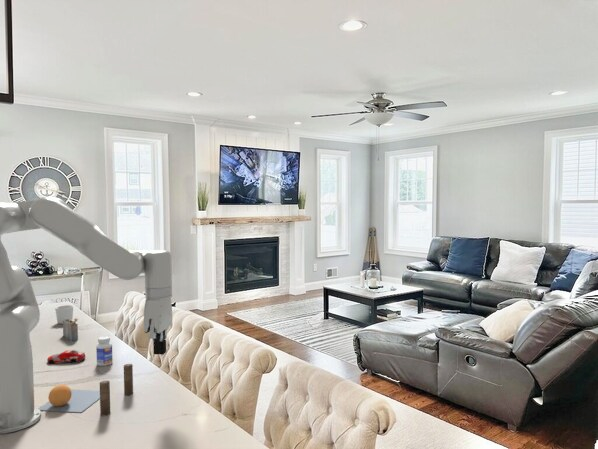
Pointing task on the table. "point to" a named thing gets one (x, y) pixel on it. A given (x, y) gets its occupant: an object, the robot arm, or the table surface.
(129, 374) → the gate post right
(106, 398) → the gate post left
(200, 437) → the table surface
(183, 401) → the table surface
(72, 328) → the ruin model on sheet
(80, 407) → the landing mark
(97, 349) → the pill bottle
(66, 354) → the race car
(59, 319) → the cup
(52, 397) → the ball
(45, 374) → the table surface
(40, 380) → the table surface
